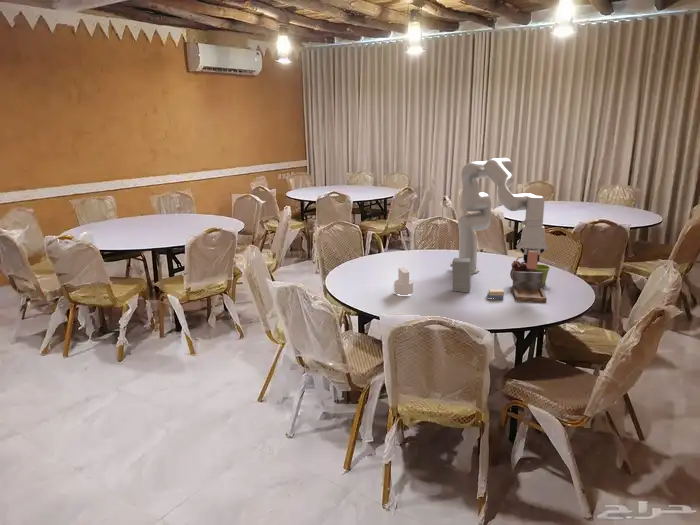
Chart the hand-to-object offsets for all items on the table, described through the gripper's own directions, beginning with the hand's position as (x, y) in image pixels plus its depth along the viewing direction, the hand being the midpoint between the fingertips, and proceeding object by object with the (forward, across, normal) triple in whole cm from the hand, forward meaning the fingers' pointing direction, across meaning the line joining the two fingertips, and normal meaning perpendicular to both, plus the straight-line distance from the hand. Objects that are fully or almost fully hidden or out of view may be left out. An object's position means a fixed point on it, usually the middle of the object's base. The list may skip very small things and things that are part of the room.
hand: (531, 262), depth 232 cm
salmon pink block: (+2, 0, 0) cm, 2 cm away
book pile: (+16, -16, -6) cm, 23 cm away
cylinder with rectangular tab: (+16, -58, -6) cm, 61 cm away
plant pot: (+16, +7, +20) cm, 27 cm away
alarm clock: (+16, -2, +14) cm, 22 cm away
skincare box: (+16, -31, +3) cm, 35 cm away
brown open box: (+16, 0, 0) cm, 16 cm away
